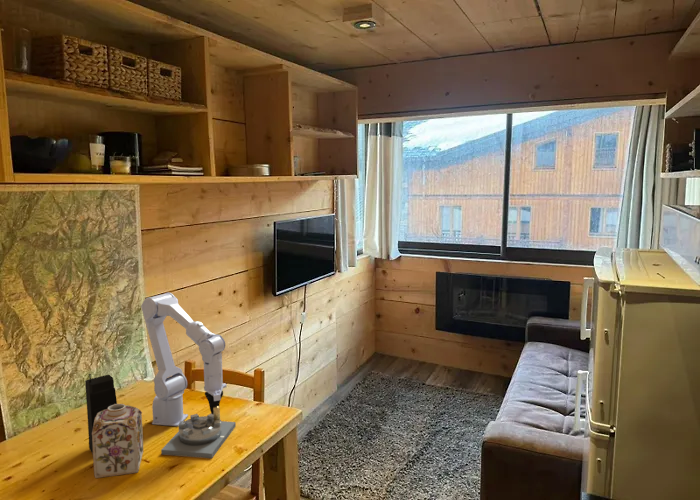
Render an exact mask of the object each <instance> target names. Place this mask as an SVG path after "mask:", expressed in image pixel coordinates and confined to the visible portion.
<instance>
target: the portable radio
mask: <svg viewBox="0 0 700 500" xmlns="http://www.w3.org/2000/svg"><path fill="white" fill-rule="evenodd" d="M91 375H92V374H91V373H89V374H88V377H89V379H85V381H84V383H85V384H84V385H85V397H86V414H87V430H88V431H87V432H88V449H89V451H90V452H91V454H93V442H92V431H93V426H94V420H95V417H96V415H97V413H98V412H101V411H103V410H105V409H108V407H109V406H111V405H114V404H118V399H117V392H116V388H115V384H114V383H115V379H114V377H113V376H111V374H105V375H101V376H97V377H94V378H91V377H92V376H91Z"/></svg>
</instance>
